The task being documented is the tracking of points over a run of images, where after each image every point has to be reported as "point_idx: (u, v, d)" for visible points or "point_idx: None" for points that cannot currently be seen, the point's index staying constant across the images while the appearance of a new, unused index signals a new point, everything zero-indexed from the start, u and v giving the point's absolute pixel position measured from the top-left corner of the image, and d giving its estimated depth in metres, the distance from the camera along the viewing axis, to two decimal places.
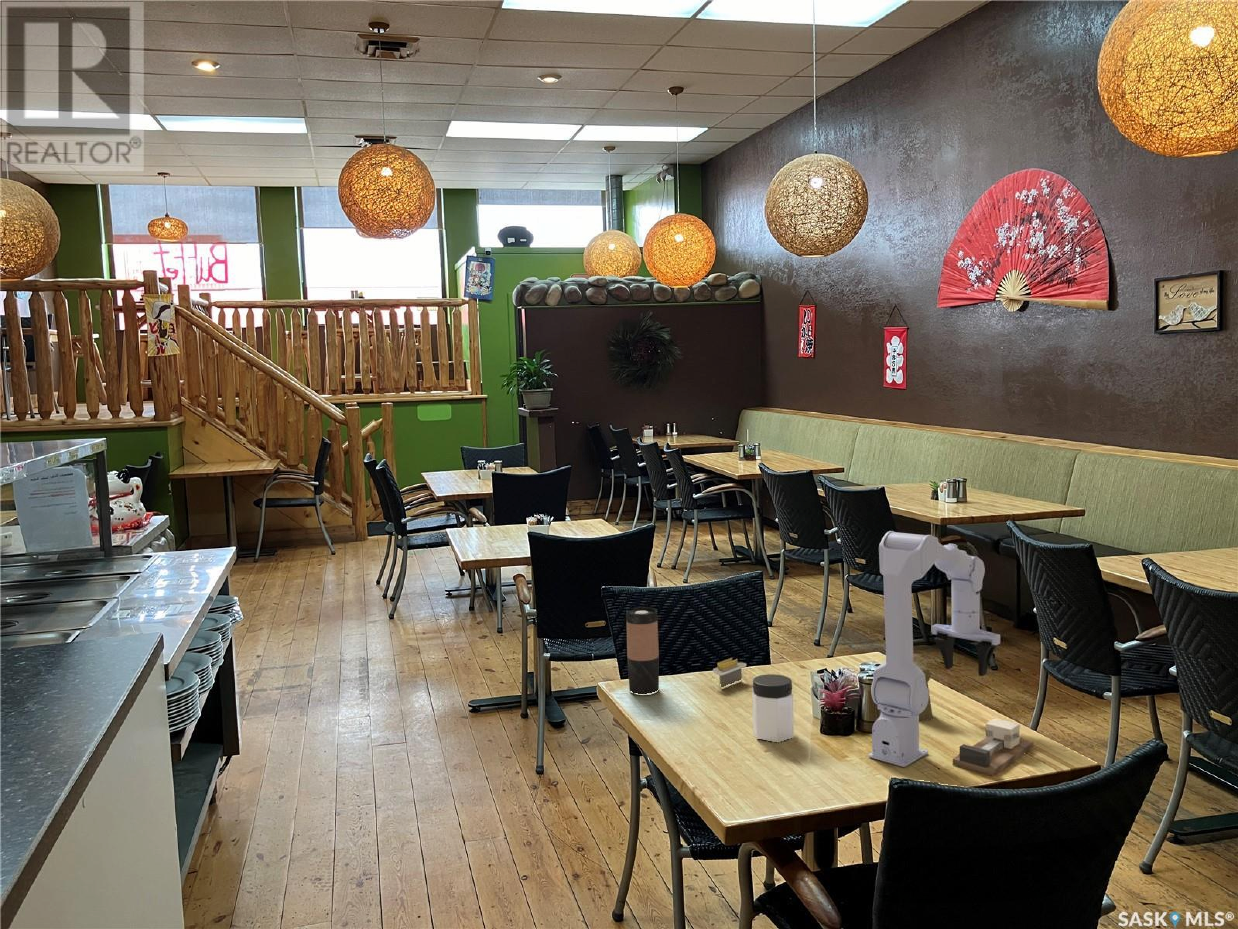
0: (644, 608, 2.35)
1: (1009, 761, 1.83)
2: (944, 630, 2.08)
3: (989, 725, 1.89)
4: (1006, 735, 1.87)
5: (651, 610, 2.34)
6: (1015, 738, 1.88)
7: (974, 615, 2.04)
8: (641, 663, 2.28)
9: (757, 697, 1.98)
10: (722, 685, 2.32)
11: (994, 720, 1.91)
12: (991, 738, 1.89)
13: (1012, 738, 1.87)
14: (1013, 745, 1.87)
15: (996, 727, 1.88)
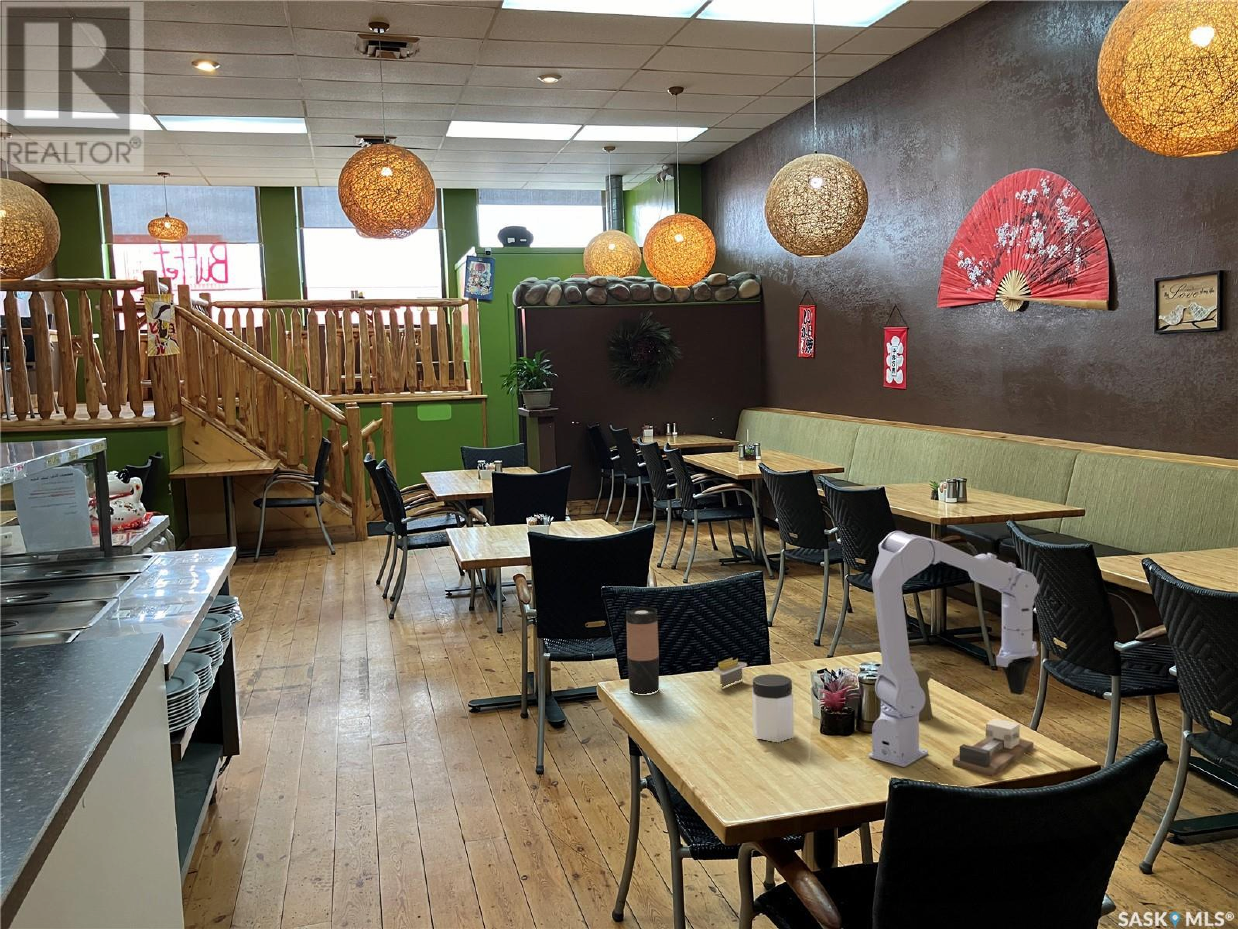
0: (644, 608, 2.35)
1: (1009, 761, 1.83)
2: None
3: (989, 725, 1.89)
4: (1006, 735, 1.87)
5: (651, 610, 2.34)
6: (1015, 738, 1.88)
7: (1005, 631, 1.91)
8: (641, 663, 2.28)
9: (757, 697, 1.98)
10: (723, 685, 2.32)
11: (994, 720, 1.91)
12: (991, 738, 1.89)
13: (1012, 738, 1.87)
14: (1013, 745, 1.87)
15: (996, 727, 1.88)
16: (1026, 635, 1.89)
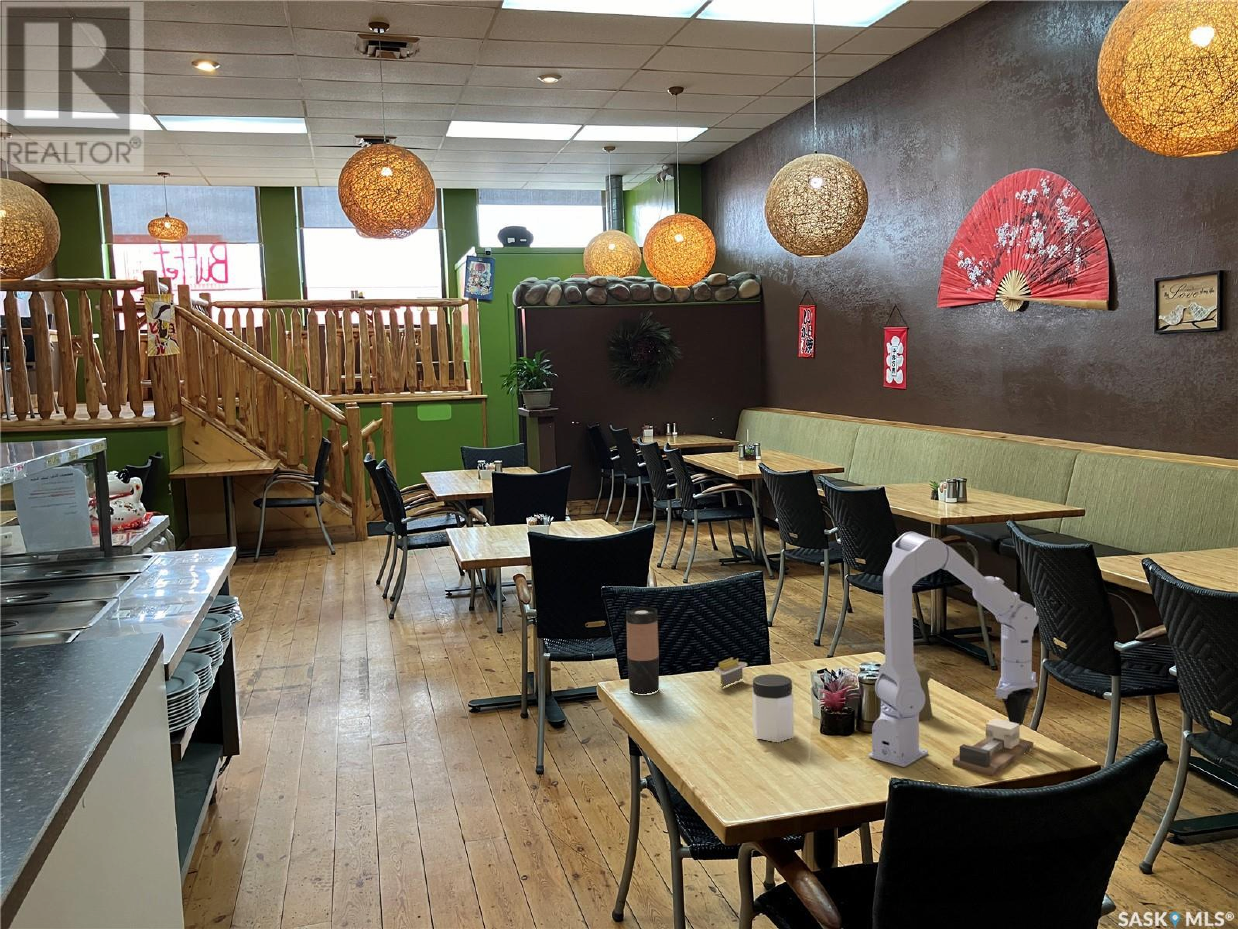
0: (644, 608, 2.35)
1: (1009, 761, 1.83)
2: None
3: (989, 725, 1.89)
4: (1006, 735, 1.87)
5: (651, 610, 2.34)
6: (1015, 738, 1.88)
7: (1005, 663, 1.91)
8: (641, 663, 2.28)
9: (757, 697, 1.98)
10: (723, 685, 2.32)
11: (994, 720, 1.91)
12: (991, 738, 1.89)
13: (1012, 738, 1.87)
14: (1013, 745, 1.87)
15: (996, 727, 1.88)
16: (1025, 667, 1.90)
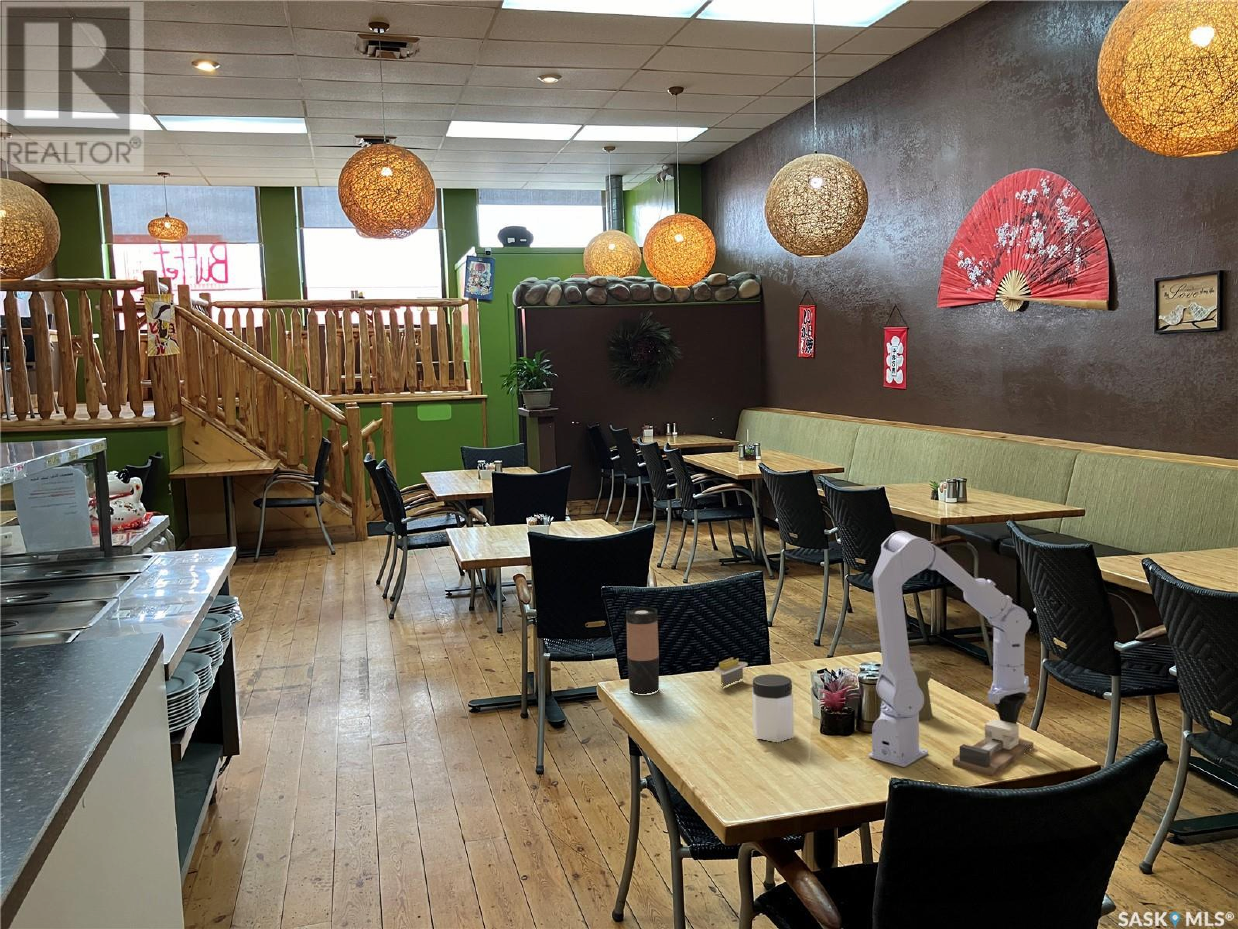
0: (644, 608, 2.35)
1: (1009, 761, 1.83)
2: None
3: (988, 726, 1.89)
4: (1005, 736, 1.86)
5: (651, 610, 2.34)
6: (1014, 739, 1.87)
7: (997, 667, 1.89)
8: (641, 663, 2.28)
9: (757, 697, 1.98)
10: (724, 684, 2.32)
11: (993, 721, 1.91)
12: (990, 739, 1.89)
13: (1011, 739, 1.86)
14: (1012, 746, 1.87)
15: (995, 728, 1.88)
16: (1018, 671, 1.87)
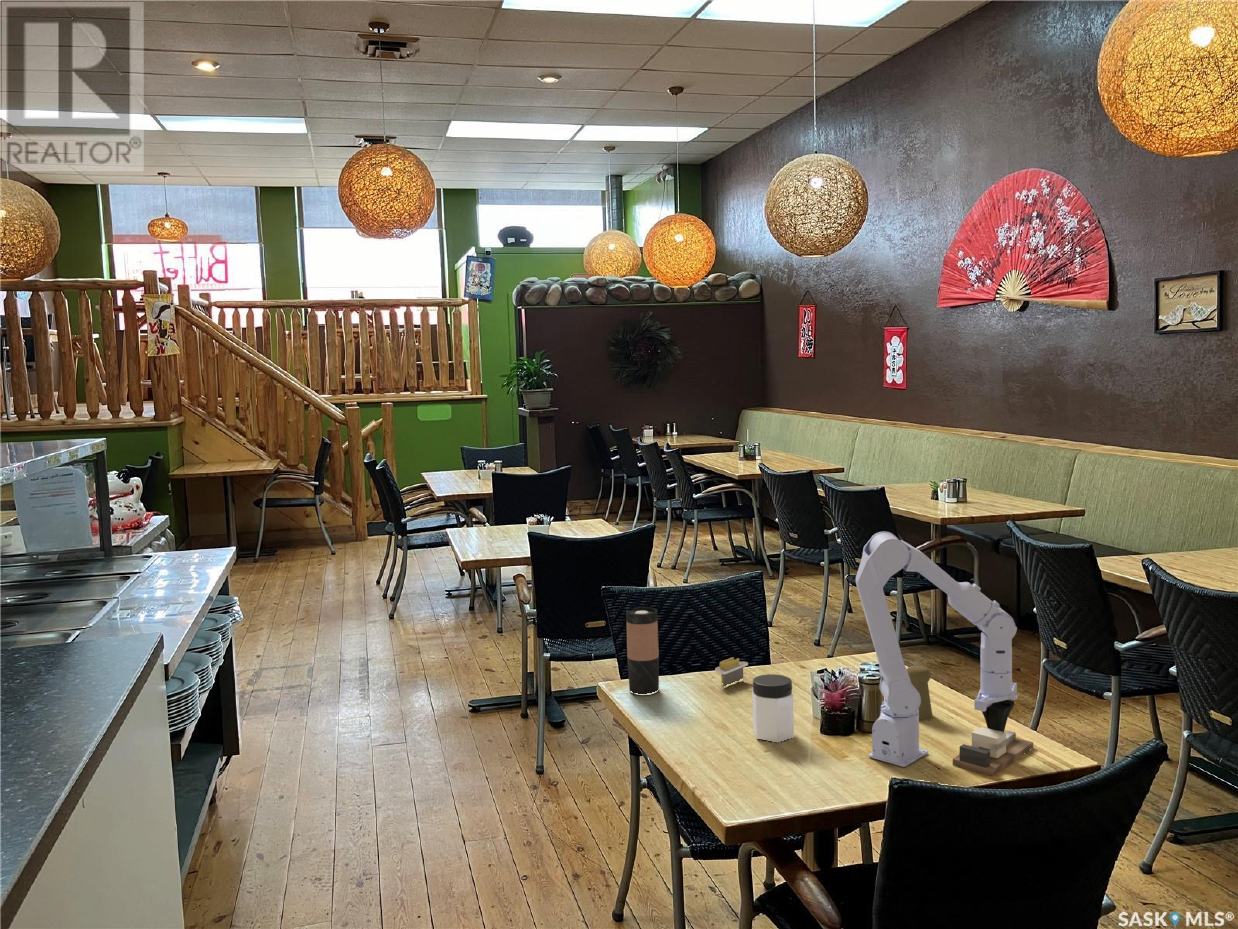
0: (644, 608, 2.35)
1: (1009, 761, 1.83)
2: None
3: (975, 734, 1.85)
4: (992, 745, 1.82)
5: (651, 610, 2.34)
6: (1001, 748, 1.83)
7: (984, 674, 1.85)
8: (641, 663, 2.28)
9: (757, 697, 1.98)
10: (724, 684, 2.33)
11: (980, 729, 1.87)
12: (977, 747, 1.85)
13: (998, 747, 1.82)
14: (999, 754, 1.83)
15: (982, 736, 1.84)
16: (1005, 678, 1.83)
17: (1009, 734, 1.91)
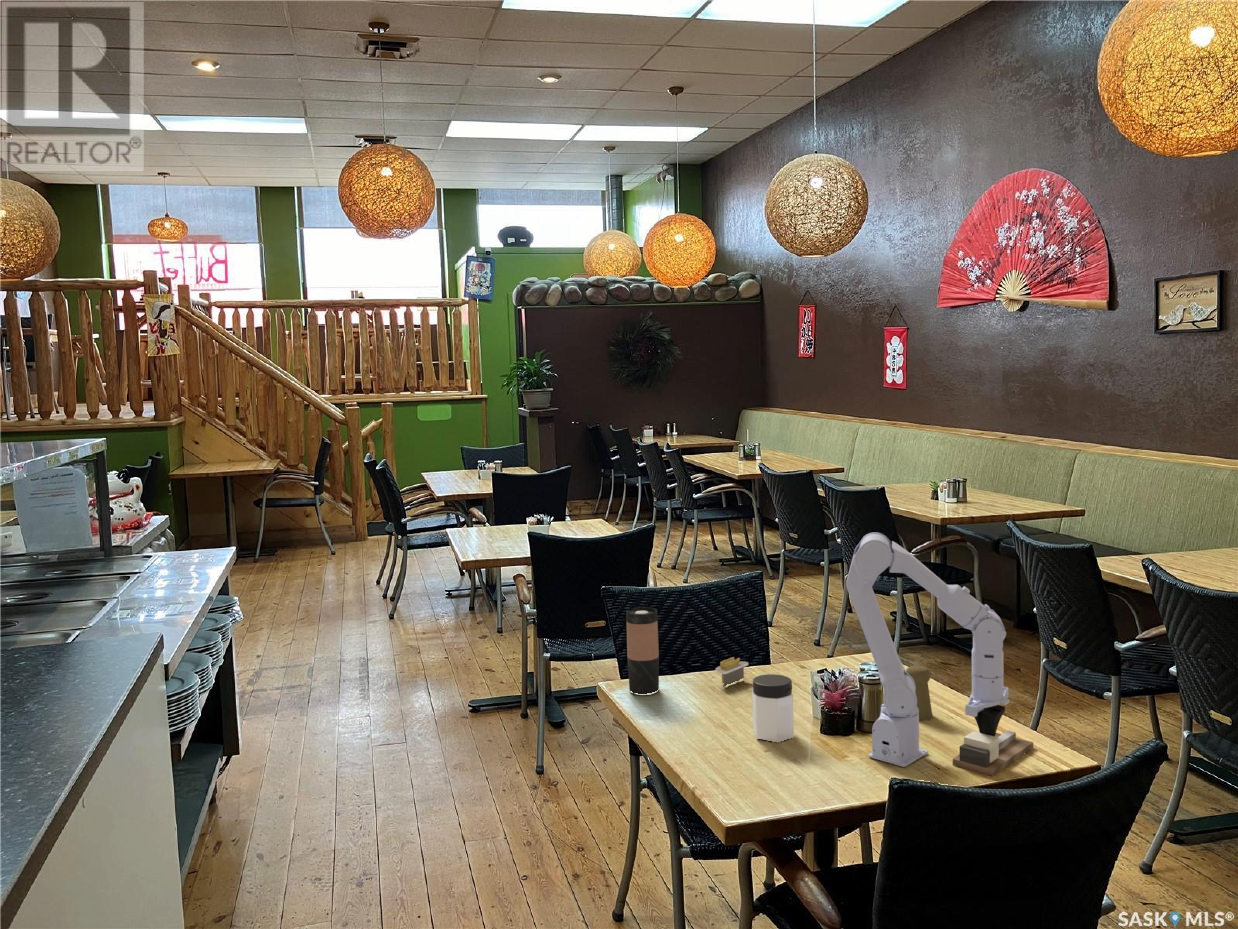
0: (644, 608, 2.35)
1: (1009, 761, 1.83)
2: None
3: (967, 739, 1.82)
4: None
5: (651, 610, 2.34)
6: (994, 753, 1.81)
7: (975, 678, 1.82)
8: (641, 663, 2.28)
9: (757, 697, 1.98)
10: (725, 684, 2.33)
11: (973, 733, 1.84)
12: None
13: (991, 752, 1.80)
14: (992, 759, 1.81)
15: (974, 741, 1.81)
16: (997, 683, 1.81)
17: (1009, 734, 1.91)
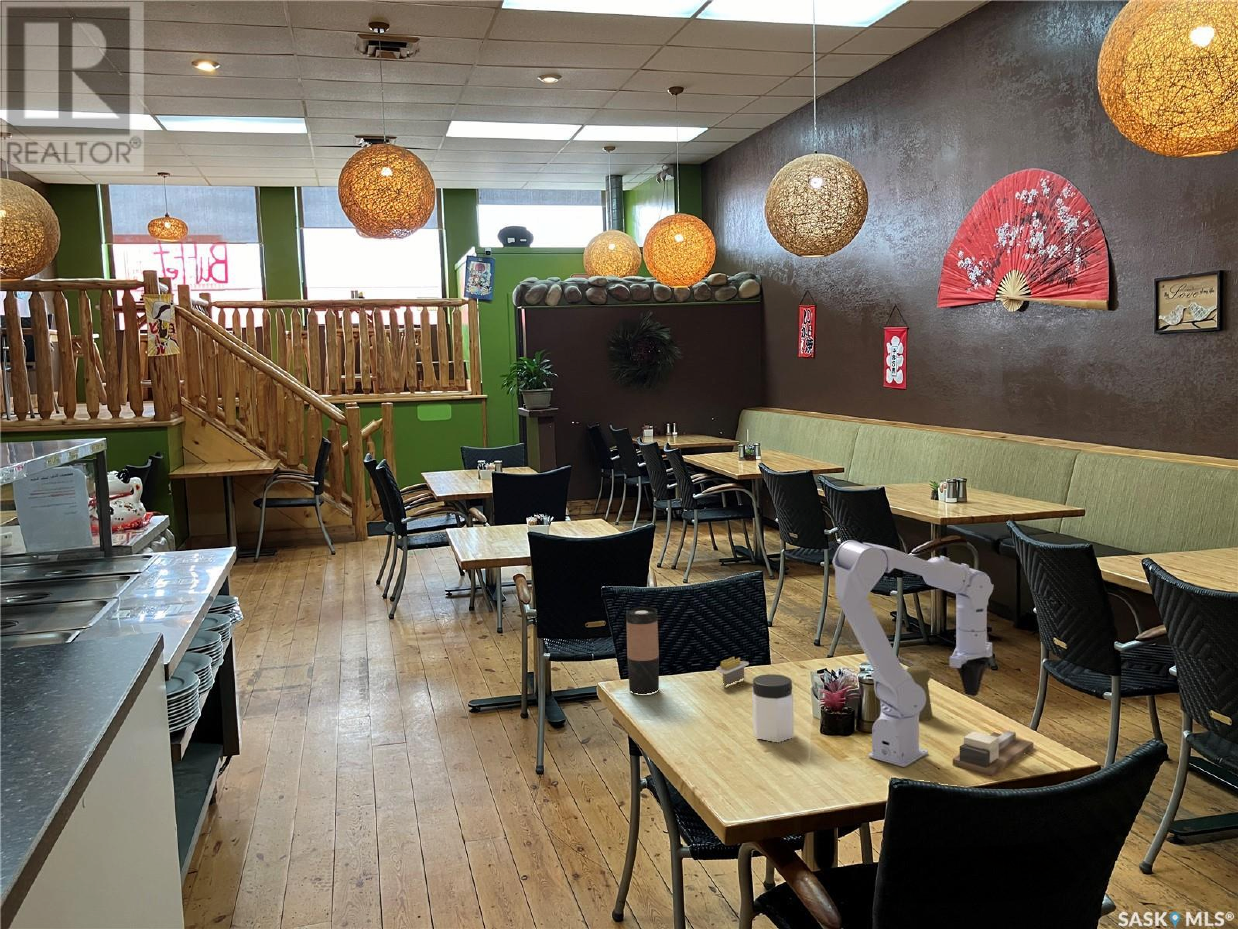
0: (644, 608, 2.35)
1: (1009, 761, 1.83)
2: None
3: (967, 739, 1.82)
4: None
5: (651, 610, 2.34)
6: (994, 753, 1.81)
7: (959, 632, 1.90)
8: (641, 663, 2.28)
9: (757, 697, 1.98)
10: (725, 684, 2.33)
11: (973, 733, 1.84)
12: None
13: (991, 752, 1.80)
14: (992, 759, 1.81)
15: (974, 741, 1.81)
16: (980, 636, 1.88)
17: (1009, 734, 1.91)
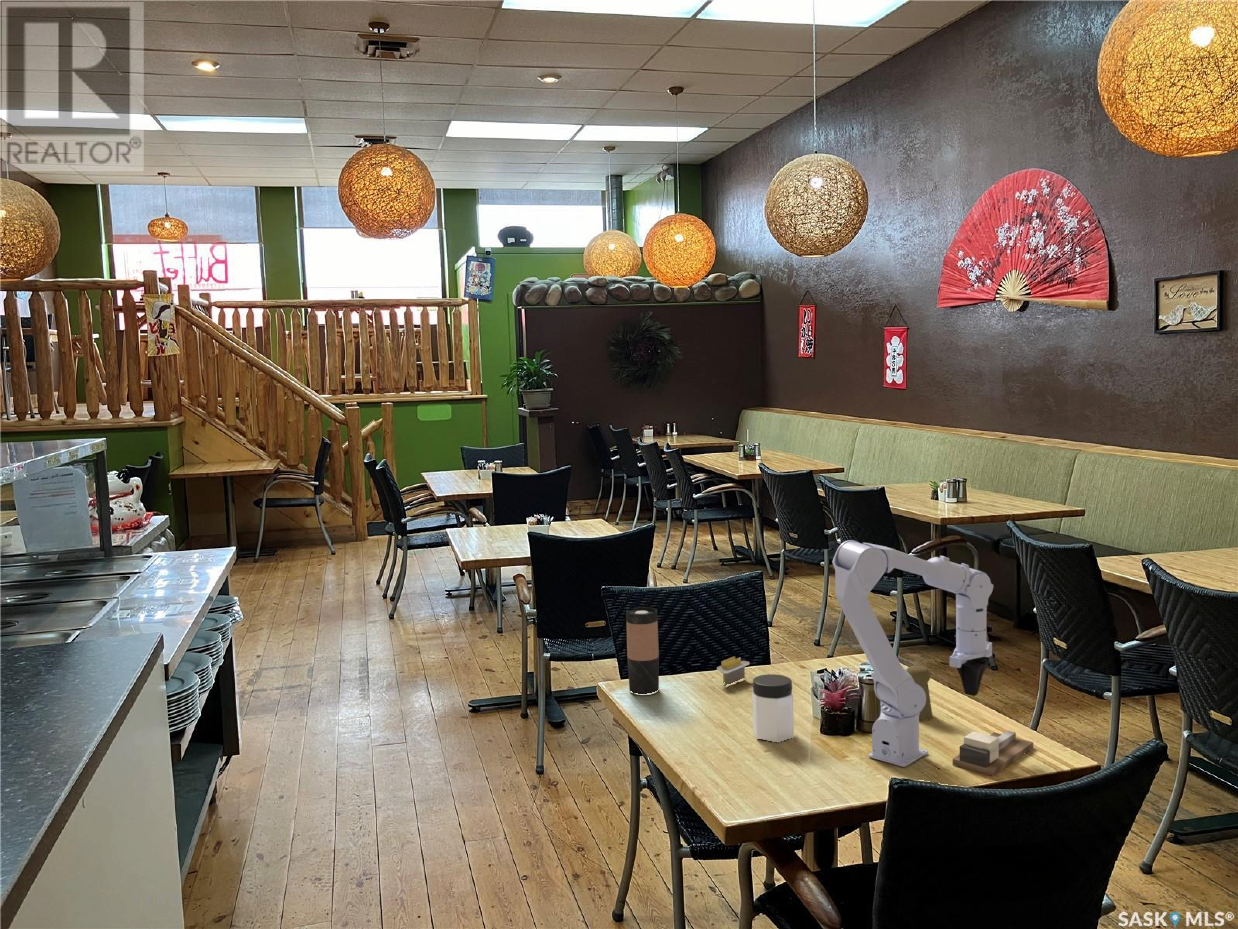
0: (644, 608, 2.35)
1: (1009, 761, 1.83)
2: None
3: (967, 739, 1.82)
4: None
5: (651, 610, 2.34)
6: (994, 753, 1.81)
7: (959, 632, 1.90)
8: (641, 663, 2.28)
9: (757, 697, 1.98)
10: (726, 683, 2.33)
11: (973, 733, 1.84)
12: None
13: (991, 752, 1.80)
14: (992, 759, 1.81)
15: (974, 741, 1.81)
16: (980, 636, 1.88)
17: (1009, 734, 1.91)
